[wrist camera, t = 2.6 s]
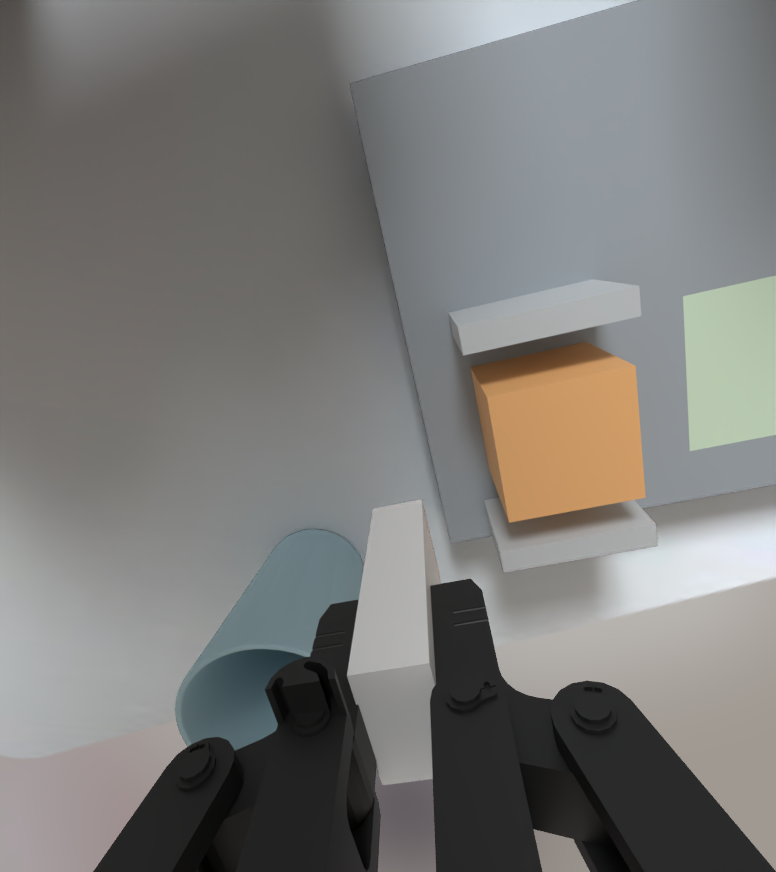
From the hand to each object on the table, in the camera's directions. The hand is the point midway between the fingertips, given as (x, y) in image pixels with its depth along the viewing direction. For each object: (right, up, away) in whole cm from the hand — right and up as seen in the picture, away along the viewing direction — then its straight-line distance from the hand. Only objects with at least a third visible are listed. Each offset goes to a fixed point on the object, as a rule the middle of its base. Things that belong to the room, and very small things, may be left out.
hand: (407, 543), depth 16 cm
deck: (+14, +11, +8) cm, 19 cm away
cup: (-5, -4, +14) cm, 16 cm away
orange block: (+6, +5, +7) cm, 11 cm away
